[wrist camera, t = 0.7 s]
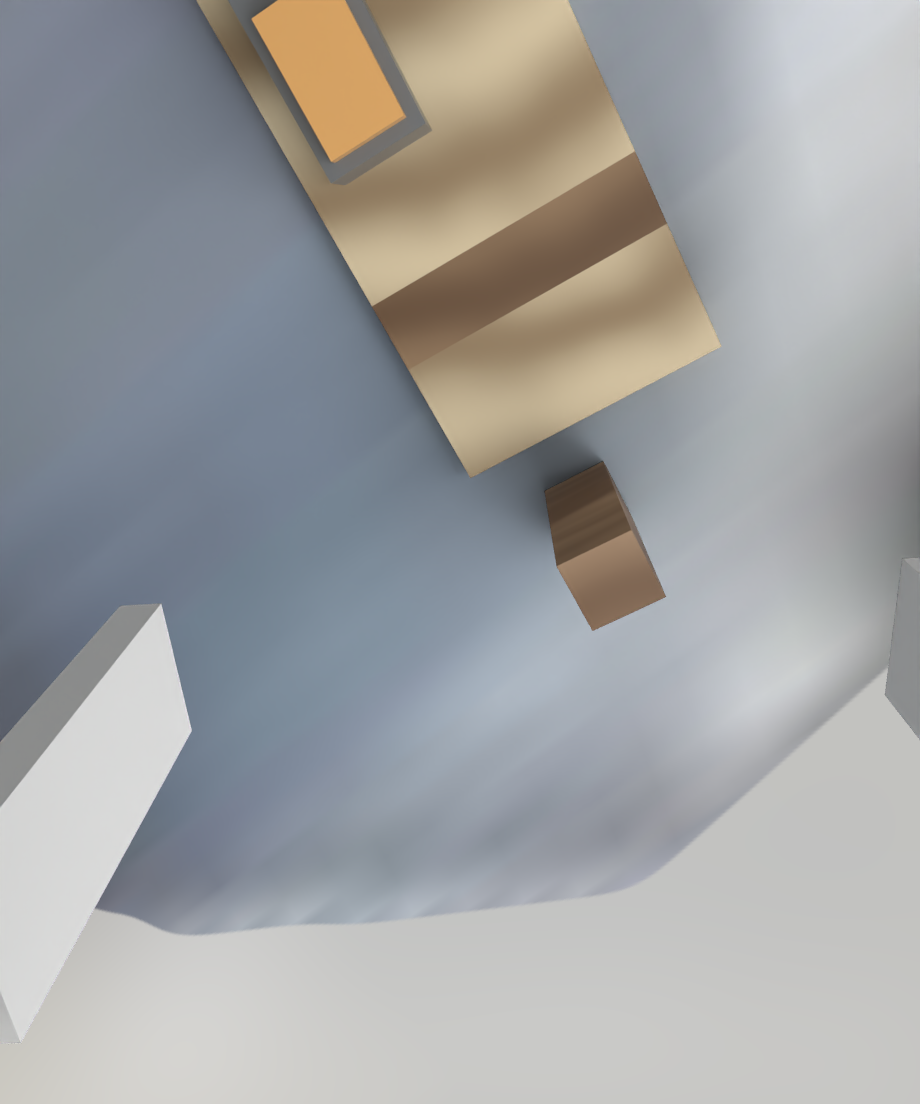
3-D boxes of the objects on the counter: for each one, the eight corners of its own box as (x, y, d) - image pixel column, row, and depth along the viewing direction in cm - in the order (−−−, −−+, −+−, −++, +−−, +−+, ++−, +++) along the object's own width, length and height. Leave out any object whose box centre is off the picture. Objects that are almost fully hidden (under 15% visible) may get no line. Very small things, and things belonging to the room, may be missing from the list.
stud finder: (230, -20, 32) (195, -50, 28) (321, -85, 31) (297, -125, 27) (345, 185, 34) (326, 182, 31) (432, 130, 33) (424, 121, 30)
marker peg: (544, 491, 40) (556, 566, 32) (603, 461, 39) (631, 530, 31) (573, 543, 41) (592, 630, 33) (631, 515, 40) (666, 596, 32)
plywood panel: (162, -70, 32) (150, -81, 31) (438, -277, 30) (436, -296, 29) (471, 470, 40) (470, 478, 39) (714, 342, 37) (721, 346, 36)
